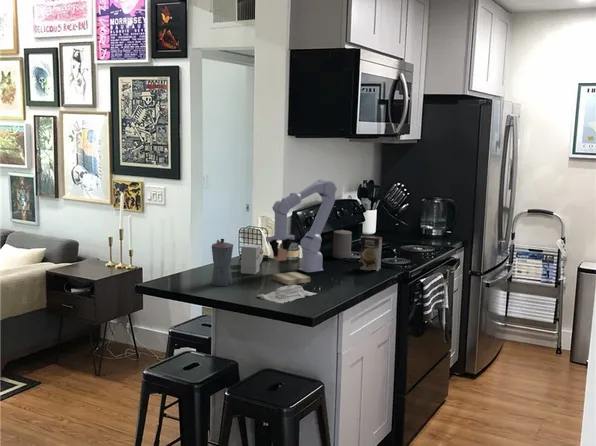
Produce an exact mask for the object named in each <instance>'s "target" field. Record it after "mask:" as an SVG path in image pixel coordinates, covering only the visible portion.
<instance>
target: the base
mask: <svg viewBox="0 0 596 446" xmlns="http://www.w3.org/2000/svg"><path fill="white" fill-rule="evenodd" d="M272 279H273V280H274V281H277V282H279V283H282V284H284V285H285V286H288V285H299V284H304V283H311V276H310V275H309V276H308V275H307V274H303V273H300V272H297V271H290V272H282V273H275V274H273V275H272Z"/></svg>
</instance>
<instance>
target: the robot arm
mask: <svg viewBox="0 0 596 446" xmlns="http://www.w3.org/2000/svg"><path fill="white" fill-rule="evenodd" d="M336 192H337V186H336V184H335V182H334V181H331V180H324V179H318V180H317V181H314V182H313V183H311V184H310V185H308V186H307V187H306V188H304V189H303V190H301V191H299V192H298V193H297V192H290V193H289V195H288V196H285V197H282V198H281V200H276V201H275V202H274V204H273V205H272V207H271V208H272V210H273V212H274V228H273V229H274V231H273V232H274V233H273V234H274V235H272V236H266V237H265V241H266V242H267V243H269V245H270V248H271V250H272V254H273V255H274V256H275V257H277V254H278V248H279V244H280V243H279V241H281V244H282V248H283V249H287V252H288V251H289V249H290V246H291V244H292V240H293V241H294V240H295V239H296V238H295V237H296V236H295V235H294V234H288V233H287V231H288V214H289V212H290V210H292V209H293V208H295V207H297V206H298V205H300V204H301V203H302V200H304V199H306V198H308V197H310V196H312V195H313V194H315V193H317V194H318V195H319V196H320V198H321V200H322V203H321V204H320V206H319V209H318V211H317V213H316V216H315V218H314V220H313V223H312V225H311V227H310V229H309V231H307V232H306V233H305V235H304V236H303V237H302V238H301V239H300V242H299V246H300V248H301V250H302V256H301V257H302V258H301V260H302V262H301V267H299V268H298V270H300V271H302V272H305V273H315V272H321V271H324V268H323V261H324V260H323V254H322V253H321V251H320V250H321V245H322V244H321V243H322V240H323V239H322V237H321V234H322V233H323V230H324V227H325V226H326V223H327V221H328V218H329V216H330V214H331V211H332V209H333V207H334V205H335V202H336Z"/></svg>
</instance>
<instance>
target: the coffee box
mask: <svg viewBox="0 0 596 446" xmlns="http://www.w3.org/2000/svg"><path fill="white" fill-rule="evenodd" d="M360 243H361V245H360V256H359V257H360V259H359V260H360V261H359V269H360V270H363V271H371V270H376V271H375V272H379V271H380V270H381V265H382V264H381V261H382V249H383V248H382V245H383V237H382V236H373V235H362V236H361V241H360ZM379 269H380V270H379Z"/></svg>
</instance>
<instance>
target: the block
mask: <svg viewBox="0 0 596 446" xmlns="http://www.w3.org/2000/svg"><path fill="white" fill-rule="evenodd" d="M287 254H288V251H287V249H283V247H278V254H277V257H275V256H274V255H273V256H272V260H275V261H278V262H282V261H287V257H288V255H287Z"/></svg>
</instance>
